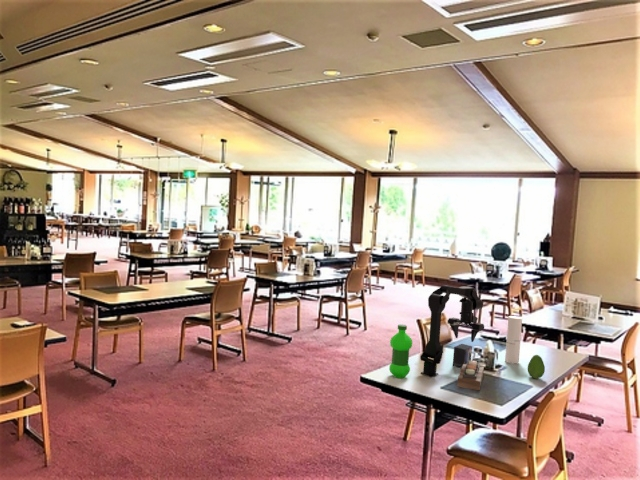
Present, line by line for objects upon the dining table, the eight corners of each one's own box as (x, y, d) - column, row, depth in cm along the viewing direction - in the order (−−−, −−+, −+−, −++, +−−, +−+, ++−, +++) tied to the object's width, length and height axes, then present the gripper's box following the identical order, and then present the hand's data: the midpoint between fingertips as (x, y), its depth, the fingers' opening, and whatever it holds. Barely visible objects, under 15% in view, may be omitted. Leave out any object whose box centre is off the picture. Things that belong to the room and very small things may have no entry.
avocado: (533, 381, 256) (535, 357, 256) (523, 376, 264) (525, 352, 263) (547, 380, 258) (549, 356, 258) (537, 375, 266) (538, 352, 265)
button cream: (476, 366, 257) (477, 363, 256) (468, 365, 258) (468, 362, 258) (477, 364, 260) (477, 361, 260) (469, 363, 262) (469, 360, 262)
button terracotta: (475, 371, 249) (475, 367, 249) (466, 369, 251) (467, 366, 250) (476, 369, 253) (476, 365, 253) (467, 367, 254) (467, 364, 254)
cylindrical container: (520, 364, 286) (524, 319, 284) (507, 363, 286) (511, 318, 284) (516, 360, 293) (519, 316, 291) (503, 359, 293) (506, 315, 292)
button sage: (474, 375, 242) (474, 372, 242) (465, 374, 243) (465, 370, 243) (474, 373, 245) (475, 369, 245) (466, 372, 247) (466, 368, 247)
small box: (463, 369, 270) (465, 349, 270) (452, 366, 274) (453, 346, 274) (471, 365, 279) (472, 345, 278) (459, 362, 283) (461, 343, 282)
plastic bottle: (395, 371, 259) (398, 322, 258) (413, 376, 253) (417, 326, 251) (384, 375, 252) (387, 324, 250) (403, 381, 245) (406, 329, 244)
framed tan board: (479, 390, 238) (480, 378, 238) (457, 386, 242) (457, 374, 241) (483, 374, 262) (484, 363, 262) (462, 371, 266) (463, 360, 266)
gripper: (490, 312, 272) (488, 341, 273) (459, 306, 286) (457, 334, 286) (479, 314, 265) (477, 344, 265) (448, 308, 278) (445, 336, 279)
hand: (464, 339), depth 274 cm, fingers open, 9 cm apart
